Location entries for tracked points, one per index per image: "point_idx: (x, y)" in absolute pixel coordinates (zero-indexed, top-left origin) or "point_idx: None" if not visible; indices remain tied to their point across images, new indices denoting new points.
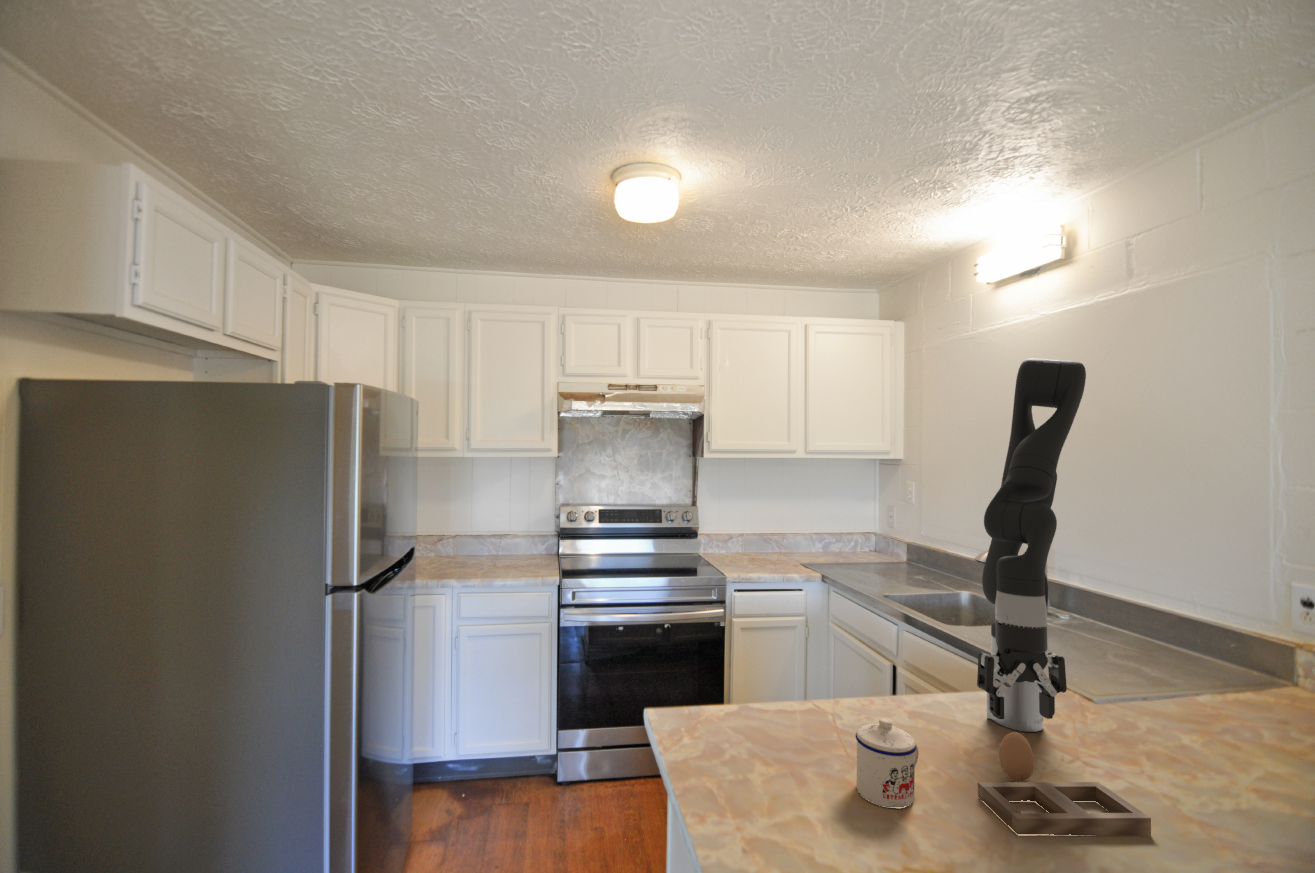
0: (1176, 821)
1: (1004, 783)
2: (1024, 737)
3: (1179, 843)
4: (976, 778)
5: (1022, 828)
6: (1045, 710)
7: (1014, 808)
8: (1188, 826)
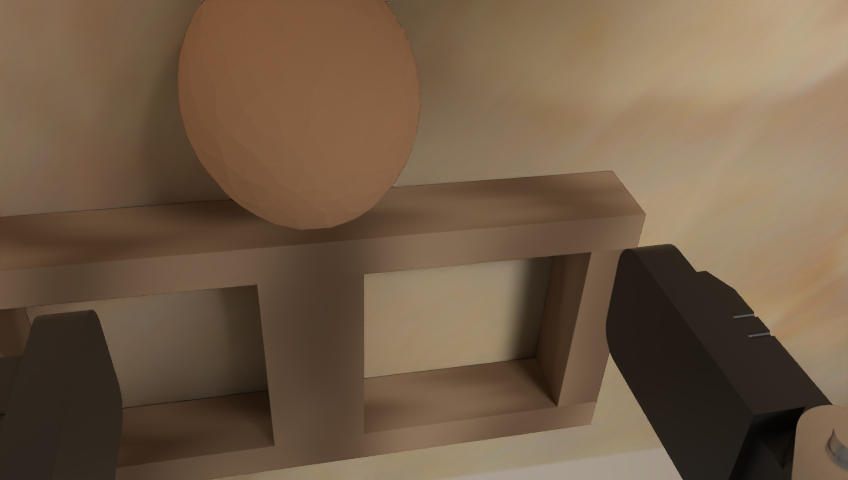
0: (751, 293)
1: (83, 274)
2: (371, 193)
3: (618, 396)
4: (7, 7)
5: None
6: (640, 353)
7: None
8: (757, 314)
